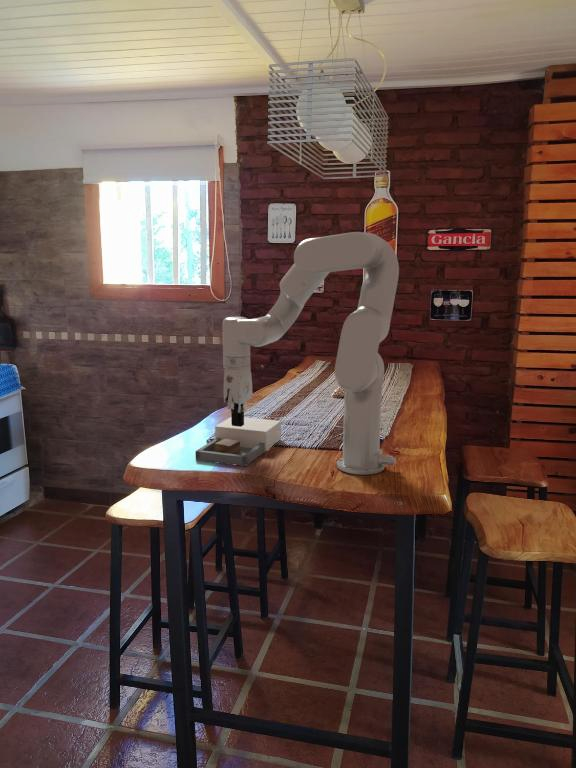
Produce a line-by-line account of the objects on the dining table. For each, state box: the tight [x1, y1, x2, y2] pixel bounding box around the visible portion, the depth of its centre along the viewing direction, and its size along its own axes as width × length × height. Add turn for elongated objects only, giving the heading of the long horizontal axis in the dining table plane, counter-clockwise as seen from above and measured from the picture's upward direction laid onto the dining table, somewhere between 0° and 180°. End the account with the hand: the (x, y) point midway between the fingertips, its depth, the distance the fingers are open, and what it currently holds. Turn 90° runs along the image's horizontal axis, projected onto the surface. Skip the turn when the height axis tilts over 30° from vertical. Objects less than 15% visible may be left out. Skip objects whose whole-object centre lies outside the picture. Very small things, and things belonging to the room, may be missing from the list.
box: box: [195, 438, 266, 467], centre depth 167 cm, size 15×13×3 cm
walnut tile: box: [215, 439, 240, 454], centre depth 168 cm, size 5×5×3 cm
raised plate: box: [214, 416, 282, 453], centre depth 178 cm, size 16×12×6 cm
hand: (237, 425), depth 170 cm, fingers closed
